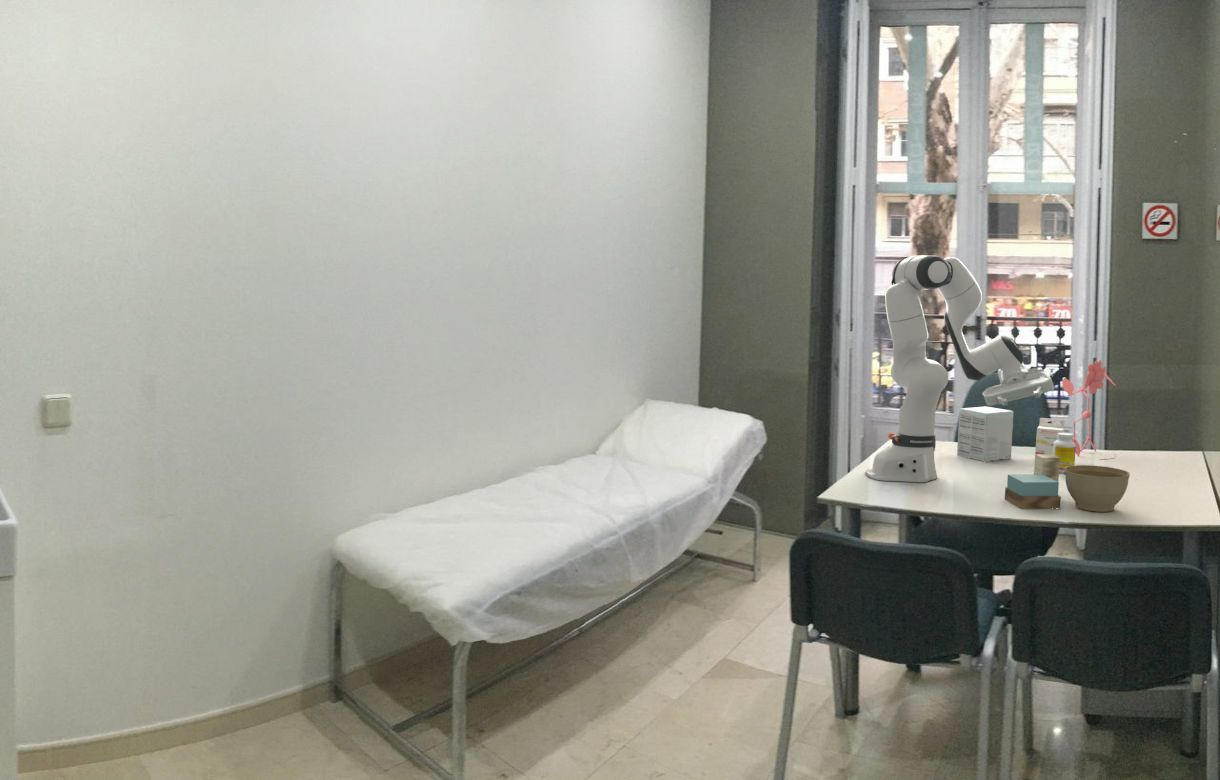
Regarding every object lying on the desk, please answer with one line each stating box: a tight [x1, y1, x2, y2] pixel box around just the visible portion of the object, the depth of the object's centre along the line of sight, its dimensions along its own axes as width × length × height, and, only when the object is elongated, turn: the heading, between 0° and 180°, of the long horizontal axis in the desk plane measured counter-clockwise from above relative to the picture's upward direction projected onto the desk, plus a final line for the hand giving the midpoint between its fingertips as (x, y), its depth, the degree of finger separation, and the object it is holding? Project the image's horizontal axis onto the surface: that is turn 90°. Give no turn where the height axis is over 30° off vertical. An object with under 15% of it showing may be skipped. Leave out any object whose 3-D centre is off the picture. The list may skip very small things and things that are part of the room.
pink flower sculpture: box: [1061, 359, 1117, 461], centre depth 322 cm, size 15×26×35 cm, turn 121°
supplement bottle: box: [1053, 432, 1076, 474], centre depth 298 cm, size 7×7×13 cm
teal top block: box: [1006, 473, 1060, 496], centre depth 255 cm, size 10×10×4 cm
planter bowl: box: [1064, 464, 1131, 513], centre depth 251 cm, size 16×16×11 cm
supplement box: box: [956, 405, 1014, 462], centre depth 322 cm, size 13×13×18 cm
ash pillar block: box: [1033, 453, 1060, 482], centre depth 265 cm, size 5×5×12 cm
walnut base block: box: [1004, 486, 1062, 510], centre depth 256 cm, size 11×11×4 cm
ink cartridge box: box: [1034, 417, 1065, 455], centre depth 316 cm, size 9×5×15 cm, turn 58°
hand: (1021, 399), depth 275 cm, fingers open, 8 cm apart
